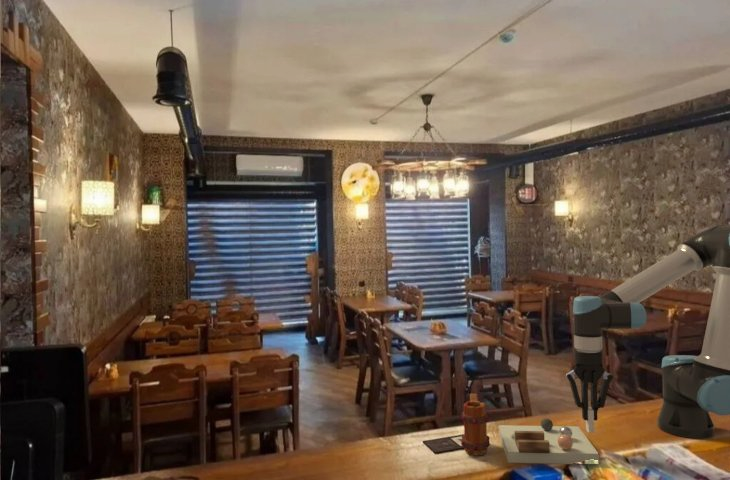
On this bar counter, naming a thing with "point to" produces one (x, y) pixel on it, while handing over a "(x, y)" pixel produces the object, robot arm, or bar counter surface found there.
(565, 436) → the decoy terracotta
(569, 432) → the ball
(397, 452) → the bar counter surface
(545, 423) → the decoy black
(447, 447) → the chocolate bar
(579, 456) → the board
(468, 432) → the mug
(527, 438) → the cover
